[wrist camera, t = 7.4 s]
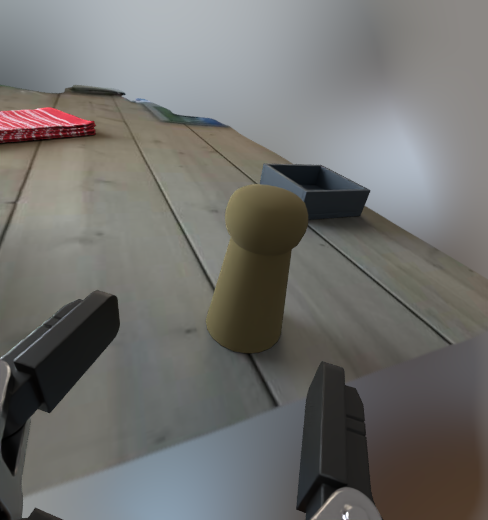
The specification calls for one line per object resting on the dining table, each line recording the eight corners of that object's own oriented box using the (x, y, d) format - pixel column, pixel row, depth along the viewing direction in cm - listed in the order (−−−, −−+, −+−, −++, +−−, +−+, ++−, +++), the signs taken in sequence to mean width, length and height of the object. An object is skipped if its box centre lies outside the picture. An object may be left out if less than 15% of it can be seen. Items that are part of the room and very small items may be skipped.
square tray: (360, 215, 48) (370, 190, 46) (298, 220, 43) (306, 191, 40) (314, 187, 57) (321, 164, 54) (258, 188, 51) (263, 163, 49)
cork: (294, 344, 23) (342, 212, 17) (219, 361, 20) (244, 214, 15) (262, 293, 27) (290, 175, 21) (197, 303, 25) (209, 173, 19)
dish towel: (100, 134, 64) (99, 121, 63) (-32, 147, 46) (-38, 129, 45) (50, 117, 70) (48, 105, 69) (-85, 122, 52) (-92, 105, 51)
